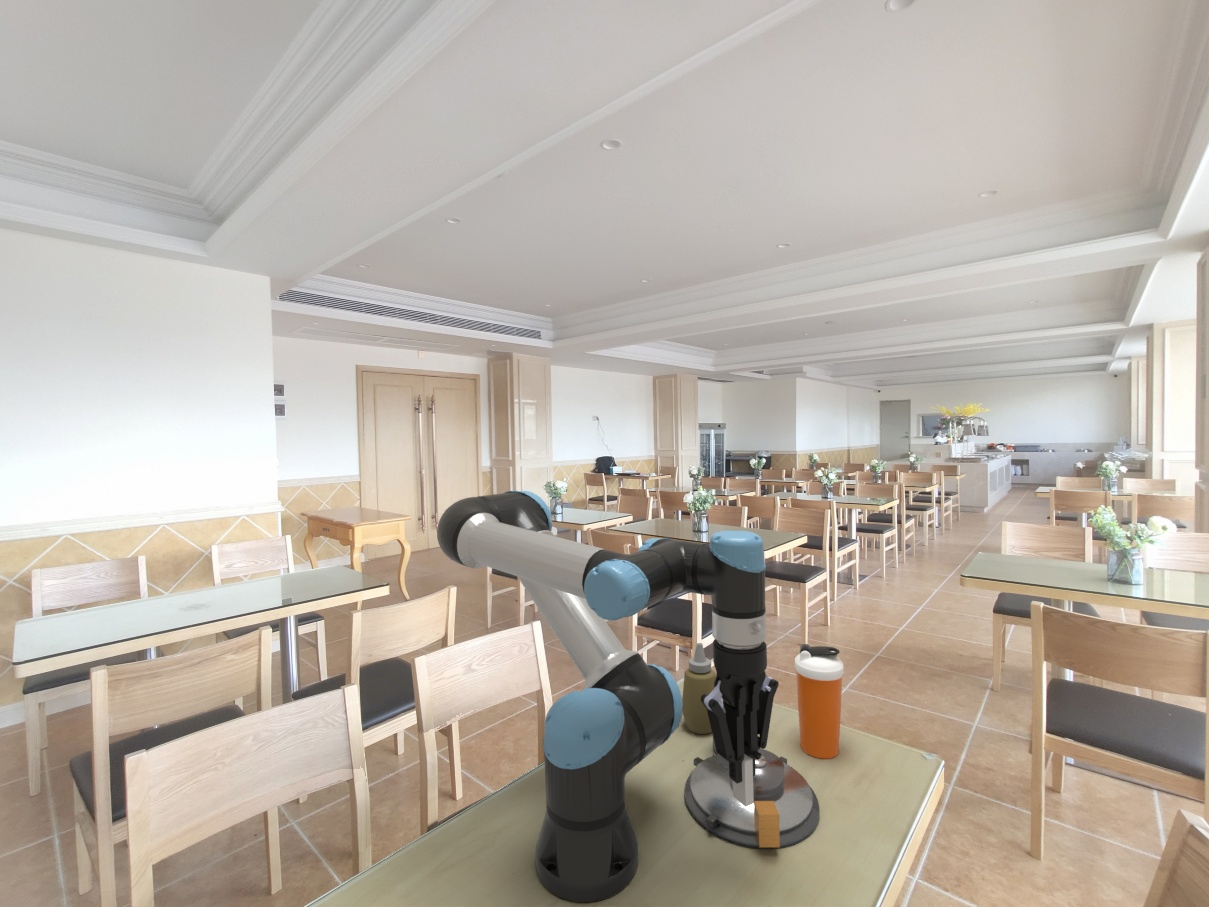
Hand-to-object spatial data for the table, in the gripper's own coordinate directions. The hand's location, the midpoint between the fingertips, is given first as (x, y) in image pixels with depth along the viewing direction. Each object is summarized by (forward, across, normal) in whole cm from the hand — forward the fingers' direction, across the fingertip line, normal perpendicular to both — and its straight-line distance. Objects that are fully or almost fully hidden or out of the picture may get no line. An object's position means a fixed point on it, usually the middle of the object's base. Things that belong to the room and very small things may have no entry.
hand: (743, 799), depth 81 cm
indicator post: (+9, +15, +21) cm, 27 cm away
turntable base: (+9, +10, +10) cm, 17 cm away
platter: (+8, +10, +9) cm, 15 cm away
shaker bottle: (+10, +32, +14) cm, 37 cm away
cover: (+7, +11, +9) cm, 16 cm away
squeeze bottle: (+9, +17, +32) cm, 38 cm away
